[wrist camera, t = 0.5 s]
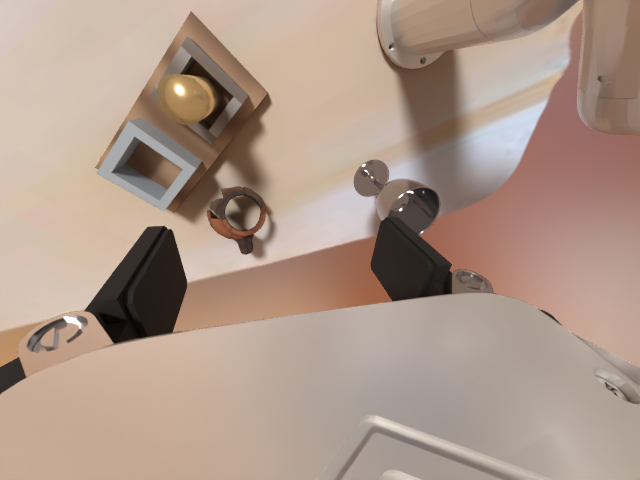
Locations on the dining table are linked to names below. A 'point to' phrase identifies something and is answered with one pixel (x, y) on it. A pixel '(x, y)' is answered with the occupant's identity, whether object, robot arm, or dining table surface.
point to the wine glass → (398, 196)
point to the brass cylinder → (188, 97)
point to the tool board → (211, 132)
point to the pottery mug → (225, 228)
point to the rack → (137, 182)
